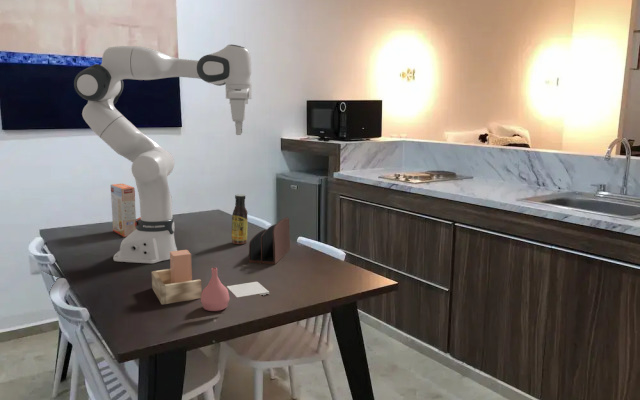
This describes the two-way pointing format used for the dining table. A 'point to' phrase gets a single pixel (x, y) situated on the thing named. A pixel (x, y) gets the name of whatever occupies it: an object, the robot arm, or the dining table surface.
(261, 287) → the coaster
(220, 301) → the pink vase
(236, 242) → the sauce bottle
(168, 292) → the crate
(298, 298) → the dining table surface
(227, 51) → the robot arm
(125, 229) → the cracker box
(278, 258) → the letter holder
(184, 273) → the block
